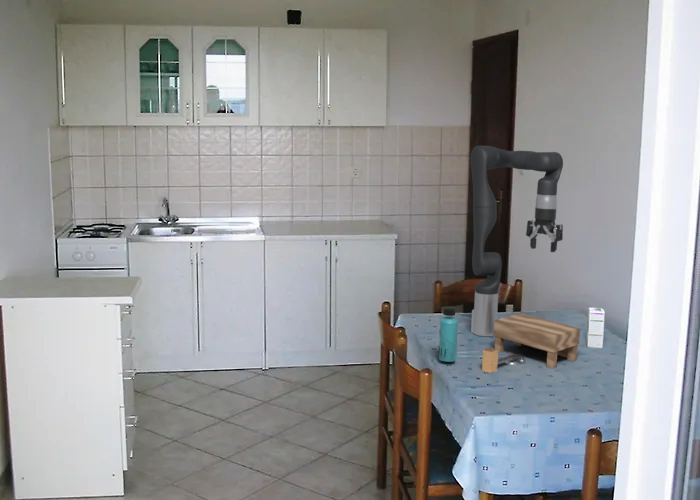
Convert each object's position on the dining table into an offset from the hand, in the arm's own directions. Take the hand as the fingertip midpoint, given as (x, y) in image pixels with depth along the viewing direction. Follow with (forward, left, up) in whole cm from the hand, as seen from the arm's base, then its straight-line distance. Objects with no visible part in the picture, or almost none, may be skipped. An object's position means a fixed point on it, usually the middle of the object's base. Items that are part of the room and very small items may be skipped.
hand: (543, 250), depth 288 cm
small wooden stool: (+3, -8, -38) cm, 39 cm away
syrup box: (+15, +19, -38) cm, 45 cm away
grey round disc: (0, -22, -38) cm, 44 cm away
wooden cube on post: (0, -27, -38) cm, 47 cm away
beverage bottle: (-17, -37, -38) cm, 56 cm away
